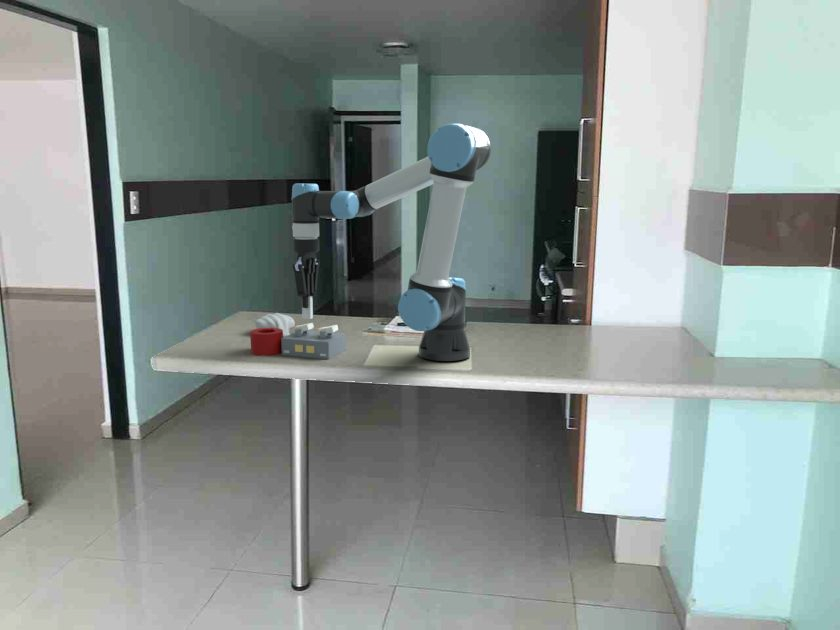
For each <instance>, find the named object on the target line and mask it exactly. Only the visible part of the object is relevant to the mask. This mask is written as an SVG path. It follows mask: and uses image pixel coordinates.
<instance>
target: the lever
mask: <svg viewBox="0 0 840 630" xmlns="http://www.w3.org/2000/svg"><path fill="white" fill-rule="evenodd" d="M249 333H250V337H249V339H250V353H251V354H252V355H254V356H262V357H265V356H277V355H280V354H281V355H282V342H281V338H283V330H282V329H279V328H258V329H257V328H255V329H251V330H250V332H249ZM285 337H286V336H285Z"/></svg>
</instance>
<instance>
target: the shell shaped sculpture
mask: <svg viewBox="0 0 840 630" xmlns="http://www.w3.org/2000/svg"><path fill="white" fill-rule="evenodd" d="M254 324H255V327H256V329H258V328H279V329H282V330H283V337H285V336H288V335H290V334H291V333H290V328H291V327H294V326H296V325H295V324H296V322H295V320H294V318H293V317H291V316H290V315H287V314H282V313H279V312H275V313H273V314H272V313H267V314H265V315H262V316H260V317H259V318H258V319H256V320H255V322H254Z"/></svg>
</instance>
